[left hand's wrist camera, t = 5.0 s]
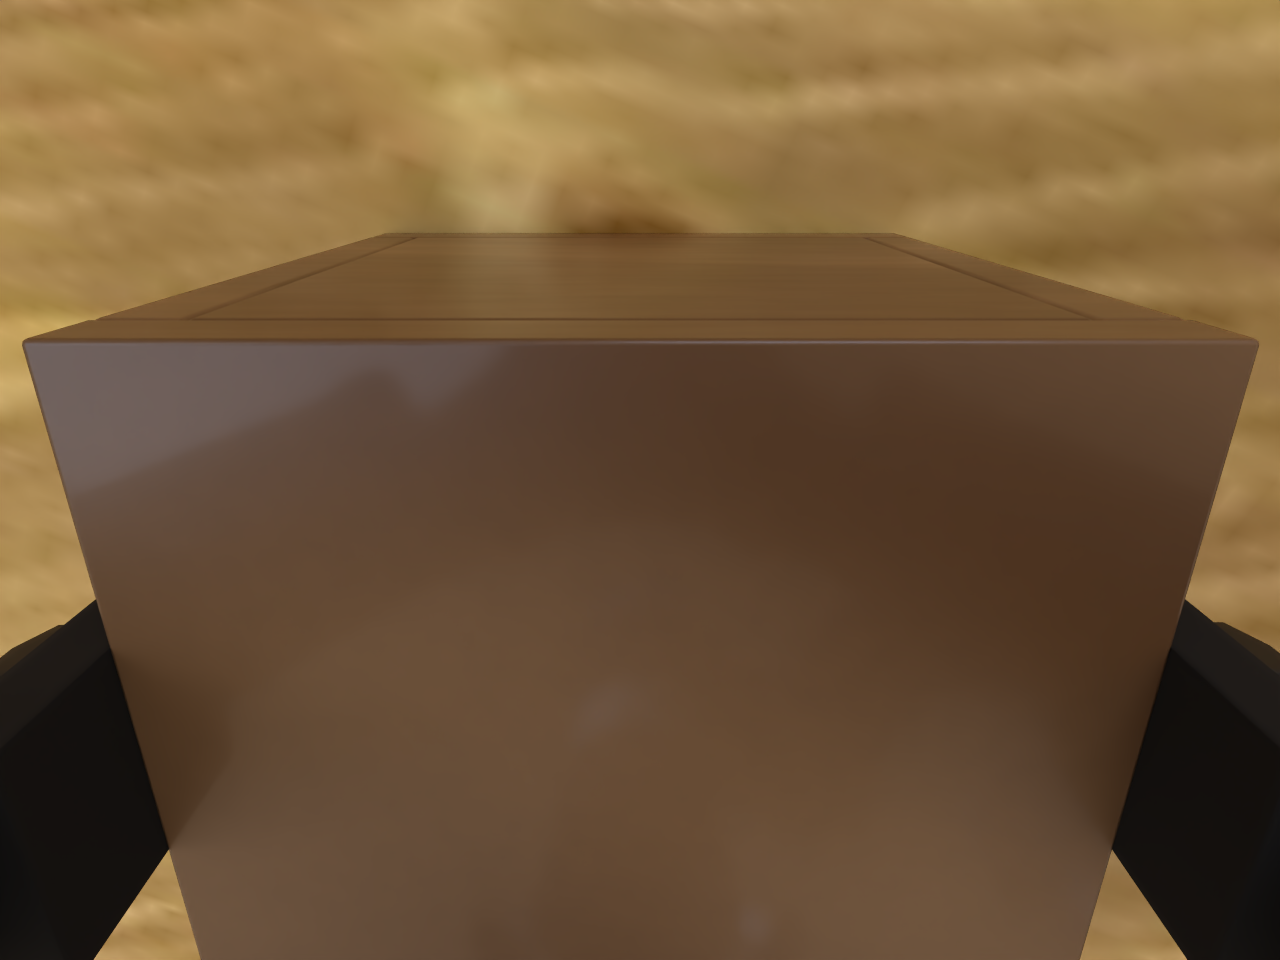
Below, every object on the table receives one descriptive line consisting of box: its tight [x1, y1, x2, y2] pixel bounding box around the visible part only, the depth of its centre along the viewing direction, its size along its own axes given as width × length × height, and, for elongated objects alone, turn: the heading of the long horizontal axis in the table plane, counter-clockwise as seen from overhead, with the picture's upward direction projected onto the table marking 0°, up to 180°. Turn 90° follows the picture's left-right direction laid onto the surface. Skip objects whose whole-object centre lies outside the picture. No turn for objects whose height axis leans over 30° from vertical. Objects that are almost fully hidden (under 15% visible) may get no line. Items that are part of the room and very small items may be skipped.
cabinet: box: [22, 234, 1259, 960], centre depth 16 cm, size 21×11×11 cm, turn 0°
